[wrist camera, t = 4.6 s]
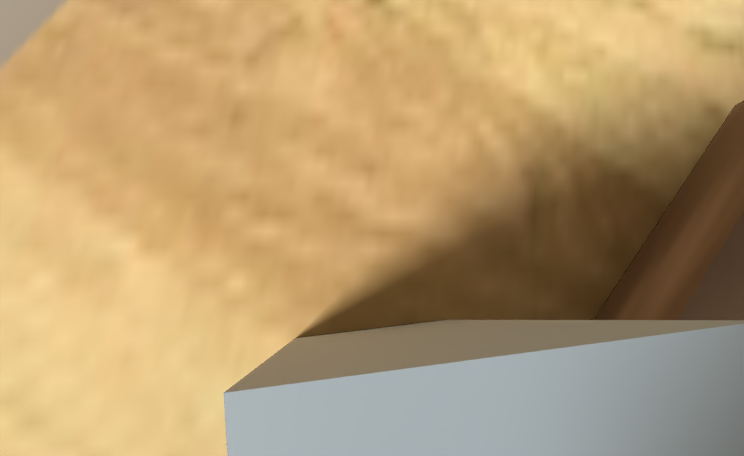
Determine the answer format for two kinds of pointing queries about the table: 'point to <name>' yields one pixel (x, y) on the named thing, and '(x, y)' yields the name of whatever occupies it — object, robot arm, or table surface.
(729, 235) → the walnut block
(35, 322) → the table surface
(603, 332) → the slate pillar
